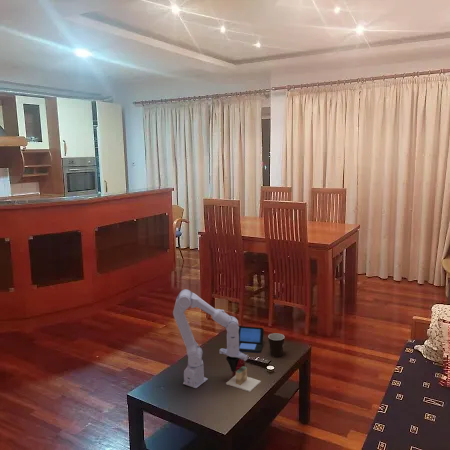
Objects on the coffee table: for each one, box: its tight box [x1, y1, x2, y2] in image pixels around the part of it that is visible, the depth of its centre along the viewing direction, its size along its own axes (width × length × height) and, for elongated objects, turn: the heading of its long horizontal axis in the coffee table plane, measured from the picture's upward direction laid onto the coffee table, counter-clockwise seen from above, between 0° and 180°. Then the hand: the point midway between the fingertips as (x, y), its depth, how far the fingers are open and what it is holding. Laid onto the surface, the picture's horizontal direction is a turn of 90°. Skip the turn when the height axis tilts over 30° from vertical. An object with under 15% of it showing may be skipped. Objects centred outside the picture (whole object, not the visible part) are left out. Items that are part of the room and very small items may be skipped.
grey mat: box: [225, 374, 262, 393], centre depth 198 cm, size 10×13×1 cm
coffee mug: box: [267, 332, 285, 358], centre depth 226 cm, size 12×9×10 cm
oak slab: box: [235, 366, 248, 385], centre depth 198 cm, size 6×2×6 cm, turn 146°
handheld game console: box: [238, 325, 265, 354], centre depth 235 cm, size 16×13×9 cm
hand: (233, 370), depth 201 cm, fingers closed
